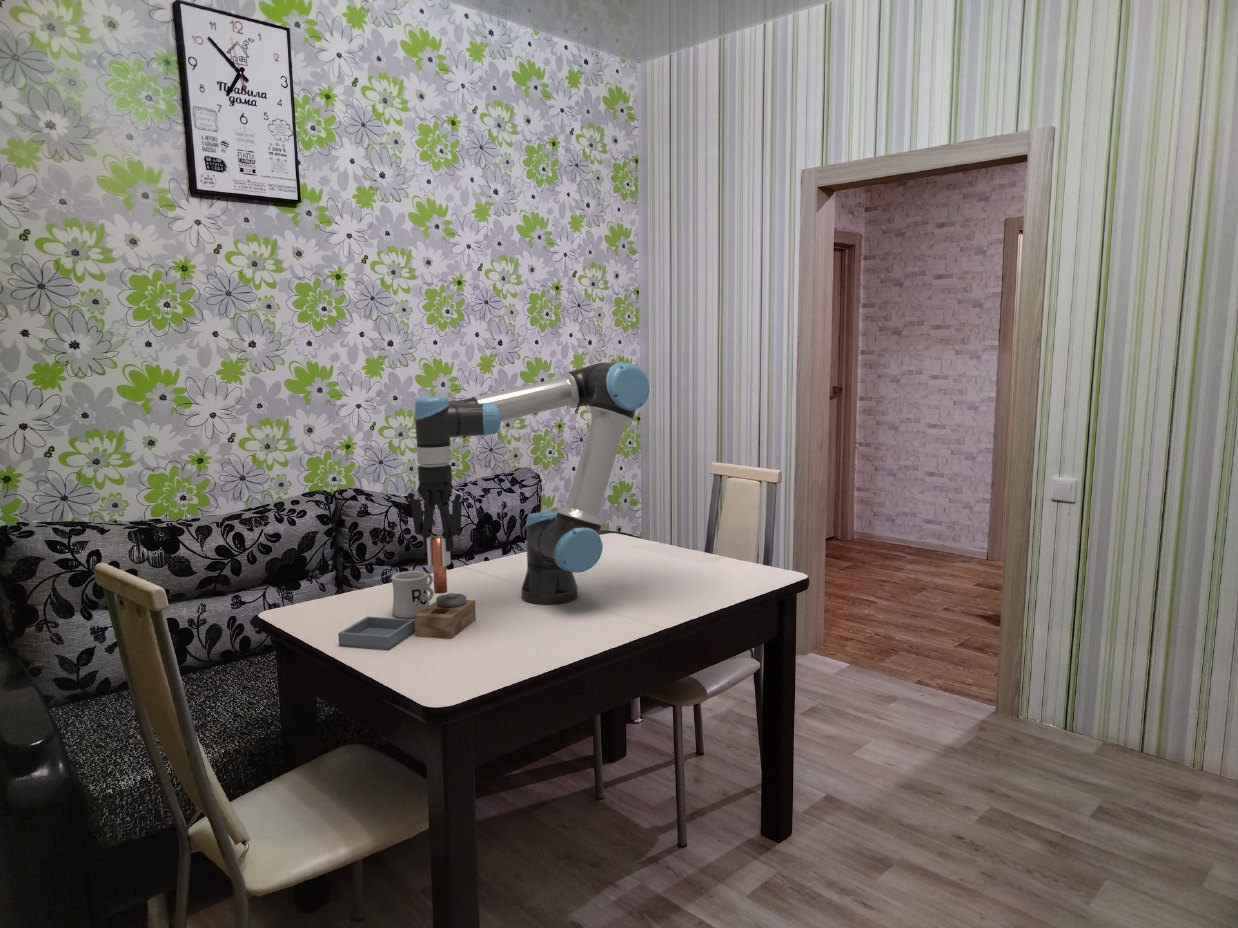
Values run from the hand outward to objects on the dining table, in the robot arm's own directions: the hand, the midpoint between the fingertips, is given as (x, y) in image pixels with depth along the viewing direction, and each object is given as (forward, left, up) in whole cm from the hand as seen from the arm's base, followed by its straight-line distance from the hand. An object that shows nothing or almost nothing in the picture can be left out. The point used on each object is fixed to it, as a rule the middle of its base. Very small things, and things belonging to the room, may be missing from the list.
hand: (439, 564), depth 192 cm
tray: (+12, +8, -16) cm, 22 cm away
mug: (+13, -13, -16) cm, 25 cm away
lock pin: (0, 0, -7) cm, 7 cm away
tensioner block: (0, -3, -16) cm, 16 cm away
